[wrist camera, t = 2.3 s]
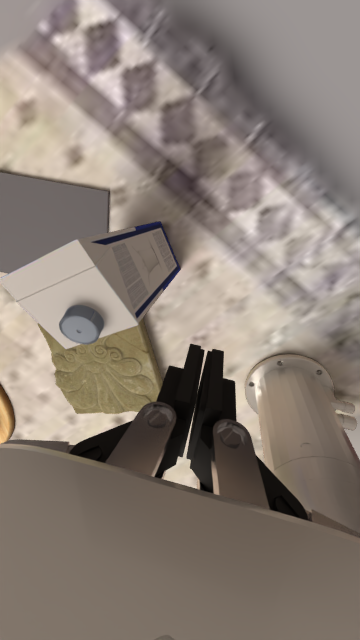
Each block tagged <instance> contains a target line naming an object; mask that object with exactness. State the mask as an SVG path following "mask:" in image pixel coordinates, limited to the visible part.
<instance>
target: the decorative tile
mask: <svg viewBox="0 0 360 640" xmlns="http://www.w3.org/2000/svg"><path fill="white" fill-rule="evenodd" d="M38 326H39V328H40V330H41V332H42V333H43V335H44V337H45V339H46V341H47V343H48V345H49V347H50V350H51V352H52V353H51V356H52V362H53V364H54V366H55V367H56V371H55V378H56V385H57V386H58V387H59V388H60V389H61V390H62V392H63V394H64V396H65V398H66V399H67V401H68V402H69V403H70V404H71V405H72V406H73V408H74V410H75V412H76V413H77V414H83V413H101V412H103V413H105V414H119V413H122V412H127V411H135V412H139V411H140V409H141V408H142V407H143V406H144V405H146V404H148V403H150V402H156V400H157V397H158V395H159V392H160V389H161V387H162V384H163V381H162V378H161V375H160V372H159V369H158V366H157V362H156V359H155V356H154V353H153V350H152V346H151V343H150V340H149V337H148V334H147V330H146V327H145V324H144V321H143V318H142V319H141V321H140V322H139V323H138V325H137V326H134V327H131V328H128V329H125V330H122V331H119V332H116V333H113V334H110V335H107V336H104V337H101V338H98V340H97V341H96V342H95V343H93V344H87V345H84V344H82V345H81V344H80V345H77V346H75V347H72V348H69V349H65V348H64V347H63V346H62V345H61V344H60V343H59V342H58V341H57V340H56V339H55V338H54V337H52V336H51V335H50V334H49V333H48V332H47V331H46V330H45V329H44V328H43V327H42V326H41V325H40V324H39V323H38Z"/></svg>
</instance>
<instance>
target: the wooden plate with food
mask: <svg viewBox="0 0 360 640" xmlns="http://www.w3.org/2000/svg"><path fill="white" fill-rule="evenodd" d="M14 425H15V419H14V412H13V408H12V405H11V403H10V400H9V398H8V396H7V394H6V393H5V391H4V390H3V388H2V387H1V385H0V444H1V443H4V442H6V441H8V440H9V439H10V437H11V435H12V433H13V431H14Z"/></svg>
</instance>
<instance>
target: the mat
mask: <svg viewBox="0 0 360 640" xmlns="http://www.w3.org/2000/svg"><path fill="white" fill-rule="evenodd" d="M108 222H109V191H103V190H97V189H92V188H86V187H80V186H75V185H69V184H64V183H58V182H52V181H47V180H41V179H35V178H30V177H24V176H19V175H13V174H7V173H2V172H0V272H4V273H8V274H9V273H11V272H13V271H15V270H17V269H19V268H21V267H23V266H25V265H27V264H29V263H31V262H33V261H35V260H37V259H39V258H41V257H43V256H45V255H47V254H49V253H51V252H52V251H54V250H56V249H58V248H60V247H62V246H64V245H66V244H68V243H70V242H72V241H74V240H78V239H82V238H87V237H91V236H96V235H100V234H105V233H108Z"/></svg>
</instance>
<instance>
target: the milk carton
mask: <svg viewBox="0 0 360 640" xmlns="http://www.w3.org/2000/svg"><path fill="white" fill-rule="evenodd" d="M179 271H180V267H179V265H178V262H177V260H176V257H175V255H174V253H173V250H172V248H171V246H170V243H169V241H168V238H167V236H166V234H165V231H164V229H163V226H162V224H161V222H160V221H159V222H155V223H150V224H146V225H141V226H137V227H132V228H127V229H123V230H118V231H114V232H109V233H105V234H100V235H96V236H91V237H87V238H82V239H78V240H74V241H72V242H70V243H68V244H66V245H64V246H62V247H60V248H58V249H56V250H54V251H52V252H51V253H49V254H47V255H45V256H43V257H41V258H39V259H37V260H35V261H33V262H31V263H29V264H27V265H25V266H23V267H21V268H19V269H17V270H15V271H13V272H11V273H9V274H7V275H5V276H3V277H1V278H0V283H1V284H2V285H3V286H4V288H5V289H6V290H7V291H8V292H9V293H10V294H11V295H12V296H13V297H14V298H15V299H16V300H17V301H16V302H17V303H18V304H19V305H20V306H21V307H22V308H23V309H24V310H25V311H26V312H27V313H28V314H29V315H30V316H31V317H32V318H33V319H35V320H36V321H37V322H38V323H39V324H40V325H41V326H42V327H43V328H44V329H45V330H46V331H47V332H48V333H49V334H50V335H51V336H52V337H54V338H55V339H56V340H57V341H58V342H59V343H60V344H61V345H62V346H63V347H64V348H65V349H69V348H72V347H75V346H77V345H80V344H81V345H82V344H84V345H87V344H93V343H95V342H96V341H97V340H98V338H101V337H104V336H107V335H110V334H113V333H116V332H119V331H122V330H125V329H128V328H131V327H134V326H137V325H138V323H139V322H140V321H141V319H142V318H143V317H144V315H145V314H146V313H147V312H148V310H149V309H150V308H151V307H152V305H153V304H154V303H155V301H156V300H157V299H158V298H159V296H160V295H161V294H162V293H163V291H164V290H165V289H166V287H167V286H168V285H169V284H170V282H171V281H172V280H173V279H174V277H175V276H176V275H177V273H178V272H179Z"/></svg>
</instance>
